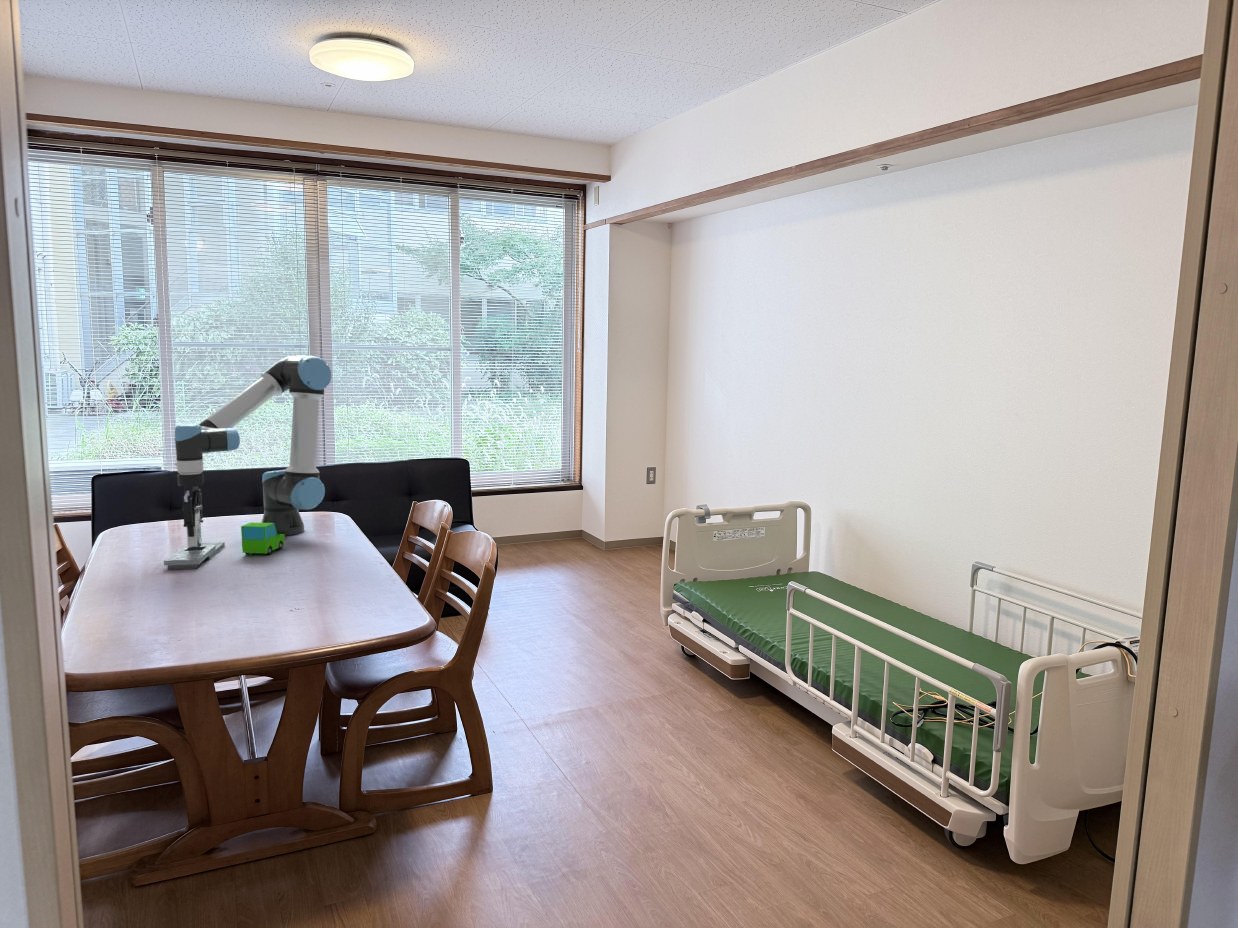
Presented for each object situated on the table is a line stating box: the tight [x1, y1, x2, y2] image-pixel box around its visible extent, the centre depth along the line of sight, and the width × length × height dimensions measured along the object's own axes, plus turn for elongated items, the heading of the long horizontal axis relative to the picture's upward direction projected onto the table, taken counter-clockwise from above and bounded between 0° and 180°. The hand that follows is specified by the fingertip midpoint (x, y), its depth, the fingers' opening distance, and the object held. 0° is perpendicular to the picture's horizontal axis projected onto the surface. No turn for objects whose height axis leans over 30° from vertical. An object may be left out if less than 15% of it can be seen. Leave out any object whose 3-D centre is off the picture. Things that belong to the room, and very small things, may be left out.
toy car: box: [240, 522, 286, 556], centre depth 285 cm, size 10×13×10 cm
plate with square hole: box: [163, 541, 226, 571], centre depth 277 cm, size 10×30×3 cm, turn 11°
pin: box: [193, 504, 203, 547], centre depth 276 cm, size 6×6×13 cm
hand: (194, 544), depth 276 cm, fingers closed on pin, 4 cm apart
